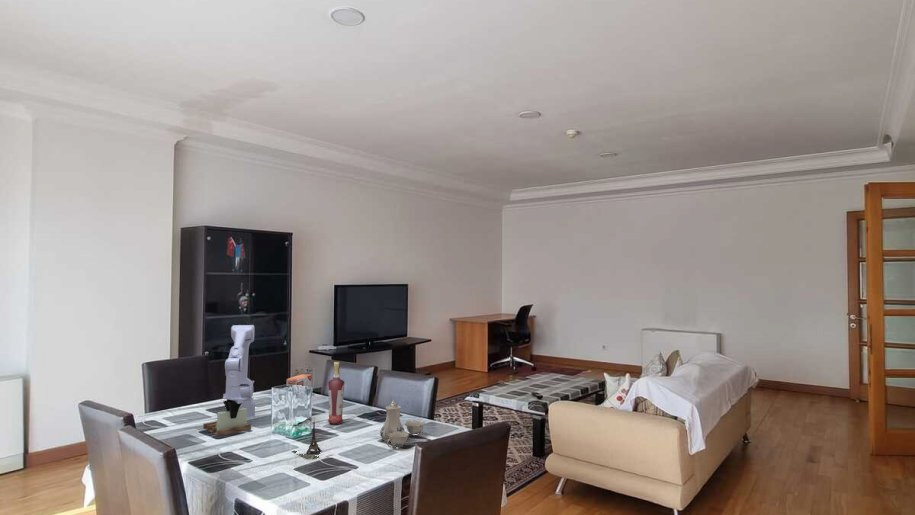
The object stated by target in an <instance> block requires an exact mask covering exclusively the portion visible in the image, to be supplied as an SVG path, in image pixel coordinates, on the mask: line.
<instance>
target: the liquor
mask: <svg viewBox="0 0 915 515" xmlns="http://www.w3.org/2000/svg"><path fill="white" fill-rule="evenodd" d="M340 366H341V362H340V361H334V362H333V368H334V370H333V375H332V376H333V377H332V378H331V379H330V380H329V381H328V382H327V384H328V385H327V386H328V393H327V395H328V419H327V422H328V423H329V424H330V425H334V424H336V425H340V424H341V423H342V422H343V421H344V419H343V406H344V405H343V404H344V393H345V381H344V379H341V378H340V377H341V376H340ZM339 423H340V424H339Z"/></svg>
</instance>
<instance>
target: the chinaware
mask: <svg viewBox="0 0 915 515" xmlns="http://www.w3.org/2000/svg"><path fill="white" fill-rule="evenodd" d="M401 408H402V406H400V405H398V404H397V403H396V402H395V400H392V401H391V403H390V404H389V405H387V406H385V410H386V418H385V421H384V423H383V426H382V427H381V428H380V430H379V433H380V437H381V439H384V440H388V442H386V444H387V446H388V447H390V448H391V447H395V446H396V447H401V446H402V447H403V446H405V444H406V443H407V440H408V437H410V435H412V434H418V433H419V434H421V433H422V431H423V429H424V427H425V424H426V422H425V421H422V422H421V421H420V420H418V419H417V420H413V421H411V420H409V421H406V422H405V423H404V425H405V426H406V430H407V431H406V430H405V429H404V425H402V422H401V419H400V417H401V416H400V415H401ZM410 433H411V434H410ZM419 434H418V435H419ZM389 441H390V442H391V443H390V442H389ZM389 443H390V444H391V445H389Z"/></svg>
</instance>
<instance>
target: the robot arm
mask: <svg viewBox="0 0 915 515" xmlns="http://www.w3.org/2000/svg"><path fill="white" fill-rule="evenodd" d="M255 330H256V329H255V325H254V324H249V325H248V324H247V325H246V324H243V325H242V324H238V325H235V324H234V325H233V324H232V326H231V327H230V336H231V339H232V341H233V346H231V348H230V349H229V355H228V356H227V357H228V358H226V359H225V362H224V369H225V370H224V371H225V376H226V377H225V378H226V379H225V393H223V396H222V399H223V404H224V406H225V409H226V411H230V417H231V419H233V418H236V417H237V413H238V410H239V409H242V408H246V409H247V419H251V418H255V417H256V401H255V399H254V397H253V394H254V383H253V381H252V380H251V379H250V378H249V377H248V370H249V369H248V367H249V350H250V349H249V347H250V345H251V343H253V342H254V341H255Z"/></svg>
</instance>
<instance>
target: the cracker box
mask: <svg viewBox="0 0 915 515" xmlns="http://www.w3.org/2000/svg"><path fill="white" fill-rule="evenodd" d="M312 377H313V376H312V374H306V373H305V374H304V373H303V374H302V373H301V374H298V375H296V376H291V377H289V378H286V384H285V385H286V386H288V385H302V386H308V387H311V388H312V379H313V378H312Z"/></svg>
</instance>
